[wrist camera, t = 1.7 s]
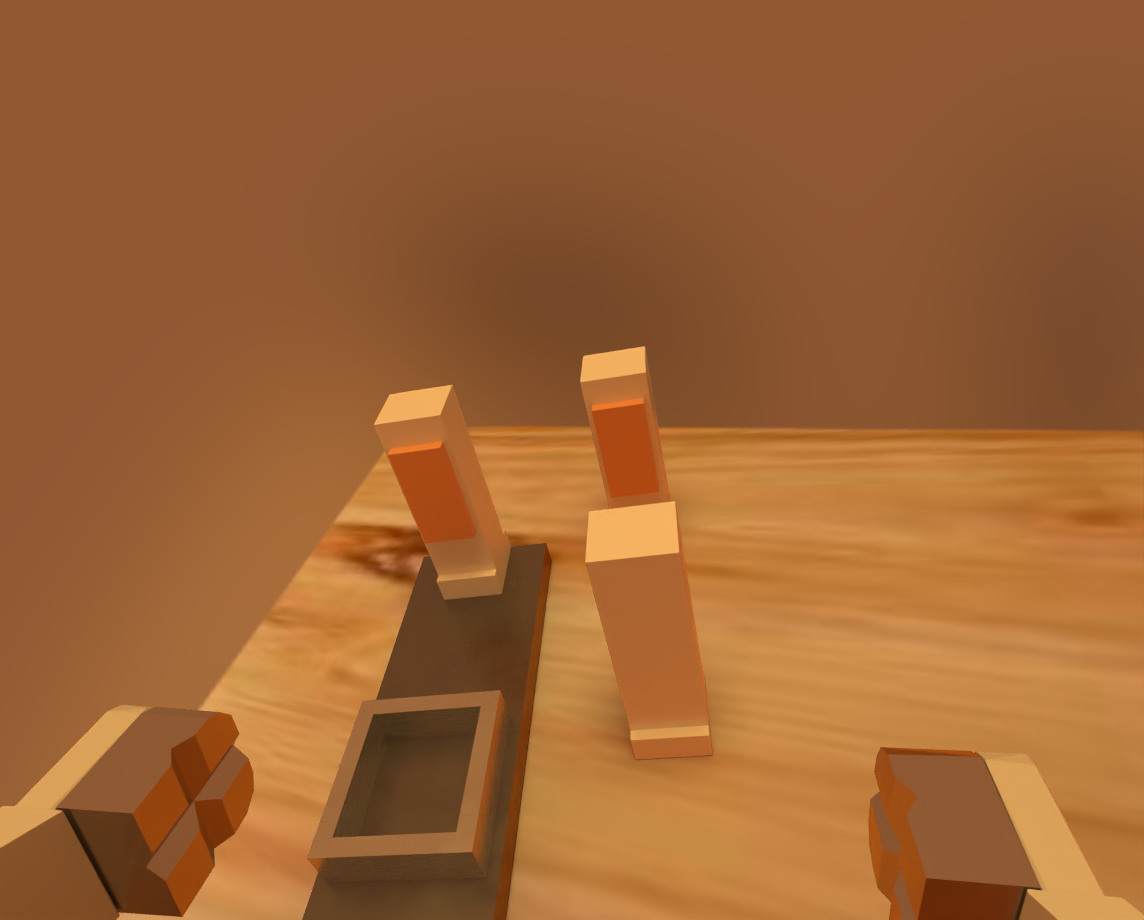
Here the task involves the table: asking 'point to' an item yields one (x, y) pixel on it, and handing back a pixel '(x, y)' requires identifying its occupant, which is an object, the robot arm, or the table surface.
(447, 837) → the rail
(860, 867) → the table surface
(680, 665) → the beige tall square block
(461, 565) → the post
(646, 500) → the white orange block
